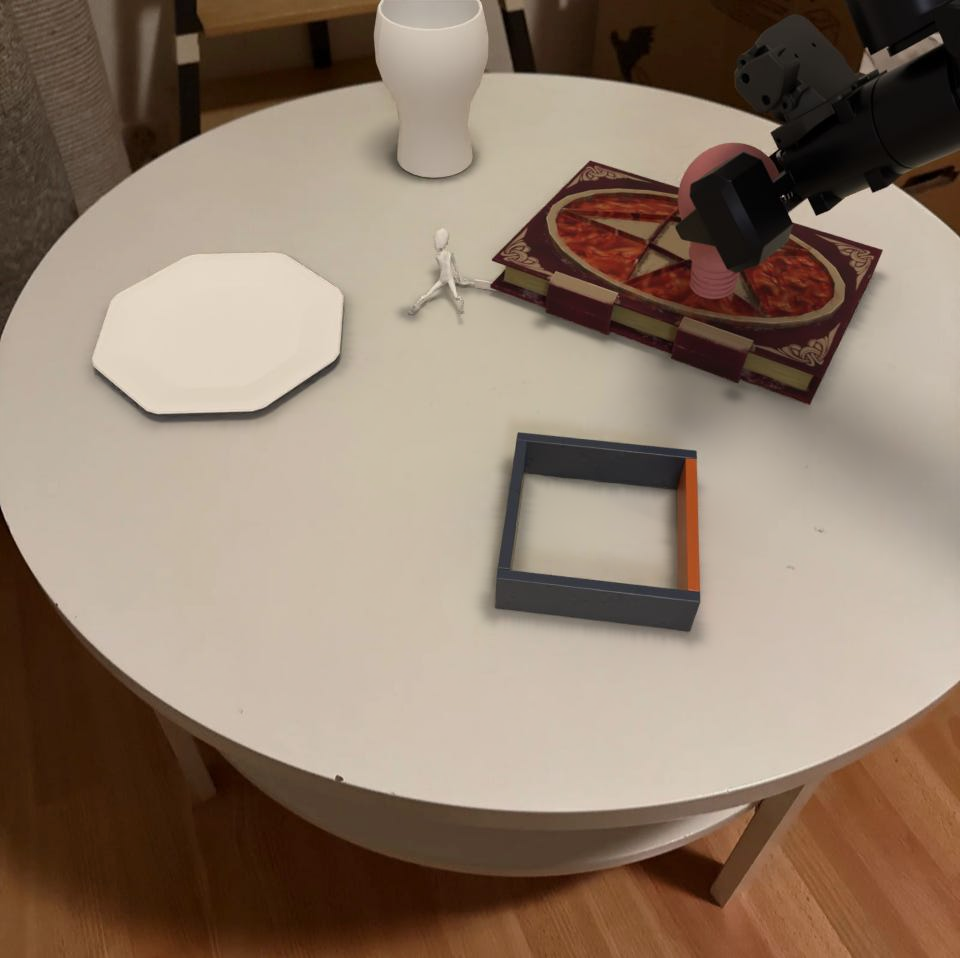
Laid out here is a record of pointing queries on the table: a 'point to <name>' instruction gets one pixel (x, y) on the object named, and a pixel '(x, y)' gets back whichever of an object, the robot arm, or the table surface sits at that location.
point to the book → (685, 283)
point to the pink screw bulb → (706, 261)
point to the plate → (220, 334)
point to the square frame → (597, 595)
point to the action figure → (449, 270)
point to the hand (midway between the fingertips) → (708, 211)
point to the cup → (432, 78)
